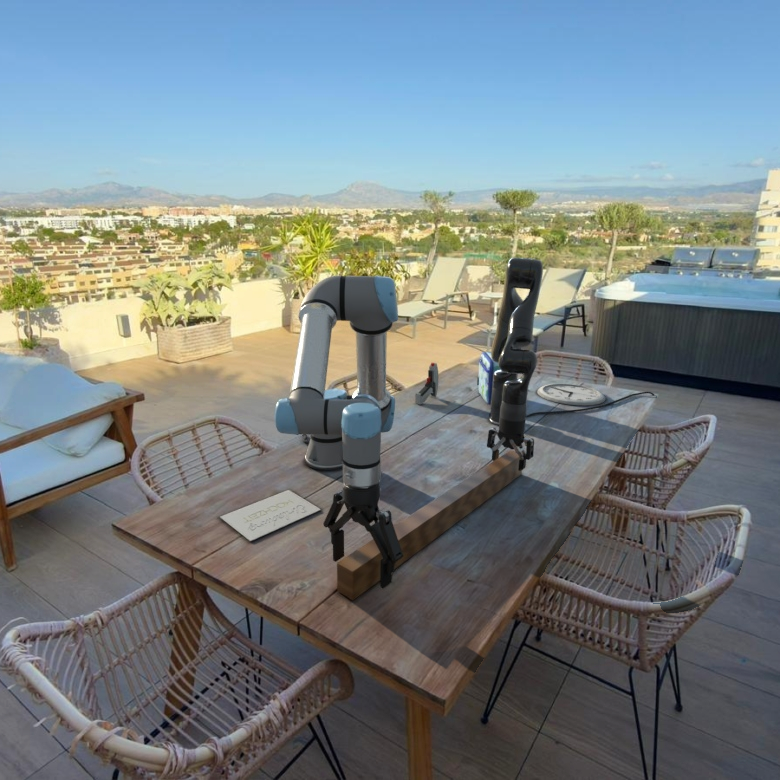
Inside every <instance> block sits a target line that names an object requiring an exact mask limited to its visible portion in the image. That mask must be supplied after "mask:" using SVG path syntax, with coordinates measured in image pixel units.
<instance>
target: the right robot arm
mask: <svg viewBox="0 0 780 780" xmlns="http://www.w3.org/2000/svg"><path fill="white" fill-rule="evenodd" d="M543 265H544V264H543V262H542V260H540V259H537V258H536V259H535V258H526V257H512V258H510V259H509V260H508V262H507V265H506V268H505V274H504V282H503V283H504V284H503V292H502V298H501V303H500V307H499V310H498V316H497V324H496V330H495V334H494V337H493V341H492V345H491V348H490V352H491V357H492V360H493V361H494V362H497V363H499V368H500V370H497V371H495V372H494V374H493V385H492V398H491V404H490V410H489V411H490V412H489V413H488V418H489V422H490V423H491V424H494V425H497V426H498V429H496V427H492V428H490V429H489V430H488V433H487V441H486V447H487V448H489V449H491V451H492V452H491V453H492V454H491V460H492V462H493V461H495V460H496V459H498V458H499V457H500V448H501V447H502V446H503V448H507V449H510V450H512V451H515V452H516V453H517V454H518V455H519V457H520V459H519V468H518V470H519V471H522V472H523V470H525V469H526V467H527V466H526V465H527V461H529V460H531V459H532V458H534V452H535V451H534V449H535V439H534V438H533V437H532V438H526V437H525V430H526V429H525V428H526V419H527V418H528V417H532V416H535V415H547V414H563V413H574V412H583V411H589V410H595V409H600V408H602V407H606V406H609V405H612V404H615V403H617V402H620V401H623V400H626V399H628V398H631V397H633V396H638V395H639V396H640V395H643V394H649V395H651V396H654V395H655V393H653V392H651V391H642V392H636V393H631V394H629V395H626V396H624V397H621V398H618V399H616V400H614V401H610V402H607V403H604V404H599V405H595V406H592V407H586V408H585V407H584V408H578V409H568V410H555V411H553V410H552V411H537V412H532V413H530V414H527V401H528V391H529V386H530V383H531V379H532V377H533V376H534V373H535V370H536V368H537V366H538V356H537V353H536V352H535V351H533V350H530V349H522V348H526V347H528V346H530V345H531V344H532V341H533V335H534V320H535V315H536V310H537V307H538V302H539V298H540V297H539V296H540V290H541V286H542V282H543V273H544V266H543ZM517 289H522V290H523V289H524V290H528V293H527V295H526V297H525V298H524V299H523V298H522V297H521V296H520V295H519V293H518V292H517ZM519 375H521V376H520V377H519ZM518 377H519V378H518ZM654 397H655V396H654ZM496 436H497V438H498V440H499V441H497V443H495V440H496ZM523 443H524V444H523Z"/></svg>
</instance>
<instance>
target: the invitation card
mask: <svg viewBox="0 0 780 780" xmlns="http://www.w3.org/2000/svg"><path fill="white" fill-rule="evenodd" d="M321 510H322V509H321V508H319V507H318V506H316V505H315V504H313V503H311V502H309V501H308V500H306V499H305V498H303V497H301V496H299V495H298V494H296V493H295V492H294V491H292V490H291V489H287V490H284V491H282V492H279V493H277V494H274V495H272V496H269V497H266V498H264V499H261V500H259V501H257V502H253V503H251V504H249V505H246V506H243V507H241V508H239V509H236V510H233V511H231V512H228V513H225V514H223V515H221V516H219V518H220V519H221V520H222V521H224V522H225V523H226V524H228V525H229V526H230V527H231V528H232V529H233V530H235V531H237V533H239V534H240V535H241V536H243V537H244V538H245V539H247V541H248V542H253V541H255V540H257V539H259V538H261V537H263V536H267V535H268V534H270V533H273V532H276V531H277V530H280V529H281V528H284V527H286V526H288V525H291V524H293V523H295V522H297V521H300V520H302V519H304V518H307V517H309V516H311V515H313V514H316V513H318V512H320V511H321Z"/></svg>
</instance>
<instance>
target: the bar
mask: <svg viewBox="0 0 780 780" xmlns="http://www.w3.org/2000/svg"><path fill="white" fill-rule="evenodd" d="M519 459H520V457H519V455H518V454H517V453H516V452H515V450H512V449H510V450H508V451H506V452H505V453H504V454H502V455H501V456H499V458H498V459H496V460H495V461H493V460H492V461H491V462H490V463H489V464H488V463H487V465H486V466H483V467H482V468H481V469H479V470H477V471H476V472H474V473H473V474H471V475H470V476H469V477H467V478H465V479H464V480H462V481H461V482H458V484H456V485H455V486H453V487H452V488H449V490H447V491H446V492H443V493H442V494H441V495H439V496H437V497H436V498H435V499H433V500H431V501H430V502H428V503H427V504H425V505H423V506H422V507H421V508H419V509H417V510H416V511H414V512H413V513H411V514H410V515H409V516H407V517H405V518H404V519H402V520H401V521H399V522H397V523H396V524H395V525H393V526H394V529H395V532H396V535H397V538H398V541H399V544H400V547H401V550H402V553H403V557H402V558H401V559H399V560H398V561H397V562H395V563H394V570H396V569H397V568H398V567H399V566H401V565H402V564H404V563H405V562H406V561H408V560H409V559H410V558H412V557H413V556H414V555H416V554H417V553H418V552H420V551H421V550H422V549H423V548H425V547H426V546H428V545H429V544H430V543H432V542H433V541H434V540H436V539H437V538H438V537H440V536H441V535H443V534H444V533H445V532H447V531H448V530H449V529H451V528H452V527H453V526H454V525H456V524H457V523H458V522H460V521H461V520H463V519H464V518H465V517H467V516H468V515H469V514H471V513H472V512H473V511H474V510H476V509H478V507H480V506H481V505H482V504H484V503H485V502H487V501H488V500H489V499H490V498H492V497H493V496H495V495H496V494H497V493H499V492H500V491H501V490H503V489H504V488H505V487H506V486H508V485H509V484H511V483H512V482H513V481H515V480H516V479H517V478H519V477H520V476H521V475H522V473H523V470H522V471H519V470H518V468H519ZM388 554H389V552H388ZM381 559H383V557H382V555H381V553H380V551H379V549H378V547H377V545H376V543H375V541H374V539H373V538H372V539H371V540H370V541H368V542H367V543H365V544H363V545H361V547H359V548H357V549H356V550H354V551H353V552H351V553H350V554H348V555H346V556H344V557H343V558H341V559H340V560H338V561H337V562H336V584H337V585H336V587H337V588H336V589H337V592H339V594H341V595H343V596H344V597H346V598H348V599H350V601H351V600H352V601H355V600H356V599H357V598H358V597H360V596H361V595H362V594H363V593H365V592H367V590H369V589H371V587H373V586H374V585H376V584H377V583H378V582H380V565H381Z"/></svg>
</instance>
